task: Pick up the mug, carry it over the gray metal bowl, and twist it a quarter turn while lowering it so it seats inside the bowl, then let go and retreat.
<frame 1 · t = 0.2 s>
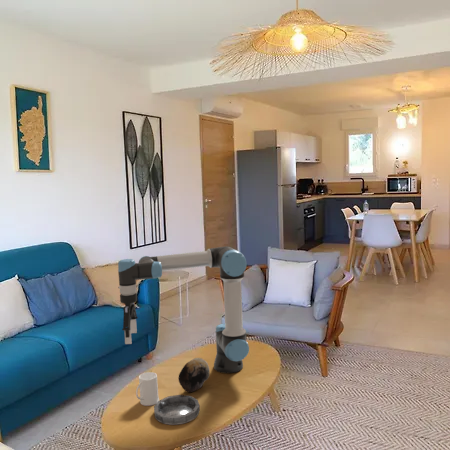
hand: (131, 338, 213), 27 cm above the table, fingers open, 13 cm apart
mug: (146, 402, 208), on the table
decorative stone: (195, 390, 218), on the table
gray metal bowl: (177, 412, 198), on the table
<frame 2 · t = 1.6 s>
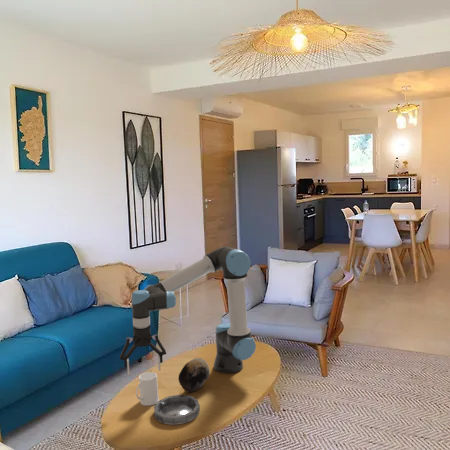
hand: (144, 371, 206), 15 cm above the table, fingers open, 13 cm apart
nothing on the table moved.
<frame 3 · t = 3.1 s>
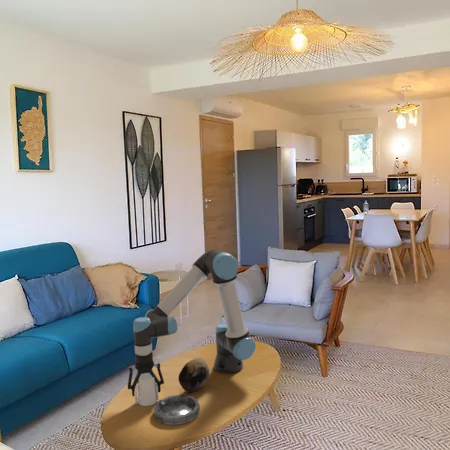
hand: (147, 400, 208), 1 cm above the table, fingers closed on mug, 9 cm apart
mug: (145, 403, 208), on the table, touching gripper
everything else where it was.
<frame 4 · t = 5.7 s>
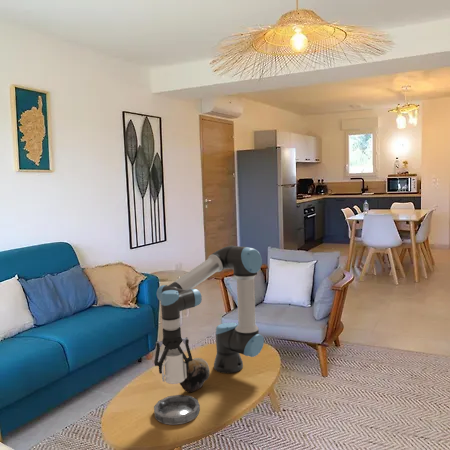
hand: (174, 378, 197), 15 cm above the table, fingers closed on mug, 9 cm apart
mug: (172, 381, 196), point 14 cm above the table, touching gripper
everything else where it was.
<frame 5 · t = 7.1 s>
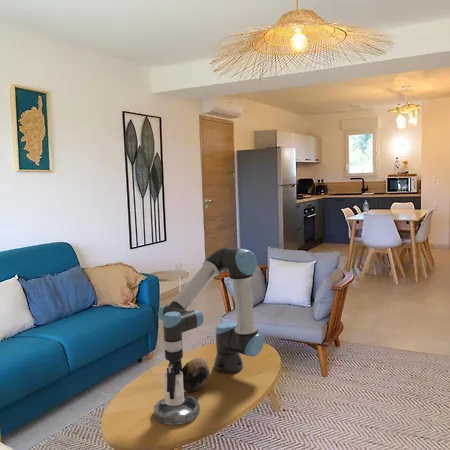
hand: (176, 399, 197), 6 cm above the table, fingers closed on mug, 9 cm apart
mug: (175, 403, 196), point 5 cm above the table, touching gripper
everything else where it was.
when the fingers open (3 cm above the table, at t = 8.1 s): mug drops 1 cm, resting on gray metal bowl.
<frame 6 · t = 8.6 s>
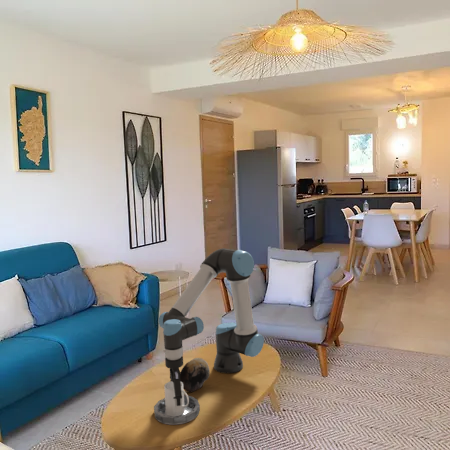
hand: (176, 404, 198), 4 cm above the table, fingers open, 13 cm apart
mug: (178, 412, 197), resting on gray metal bowl
everything else where it was.
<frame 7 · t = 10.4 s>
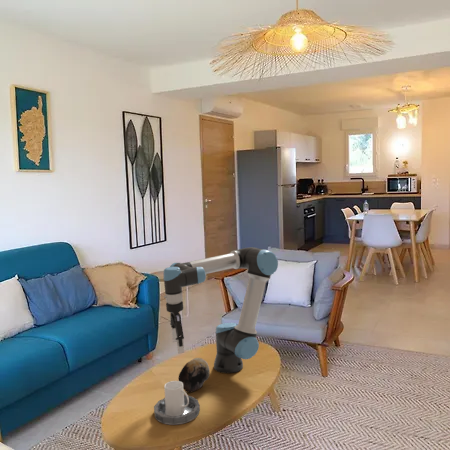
hand: (178, 347, 209), 24 cm above the table, fingers open, 13 cm apart
nothing on the table moved.
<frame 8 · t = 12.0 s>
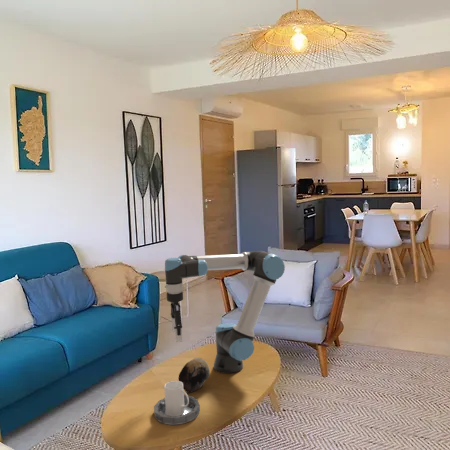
hand: (177, 336, 214), 27 cm above the table, fingers open, 13 cm apart
nothing on the table moved.
at the end: mug 1.1 cm from the gray metal bowl (horizontally); mug tilted 0°; the gripper is holding nothing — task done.
